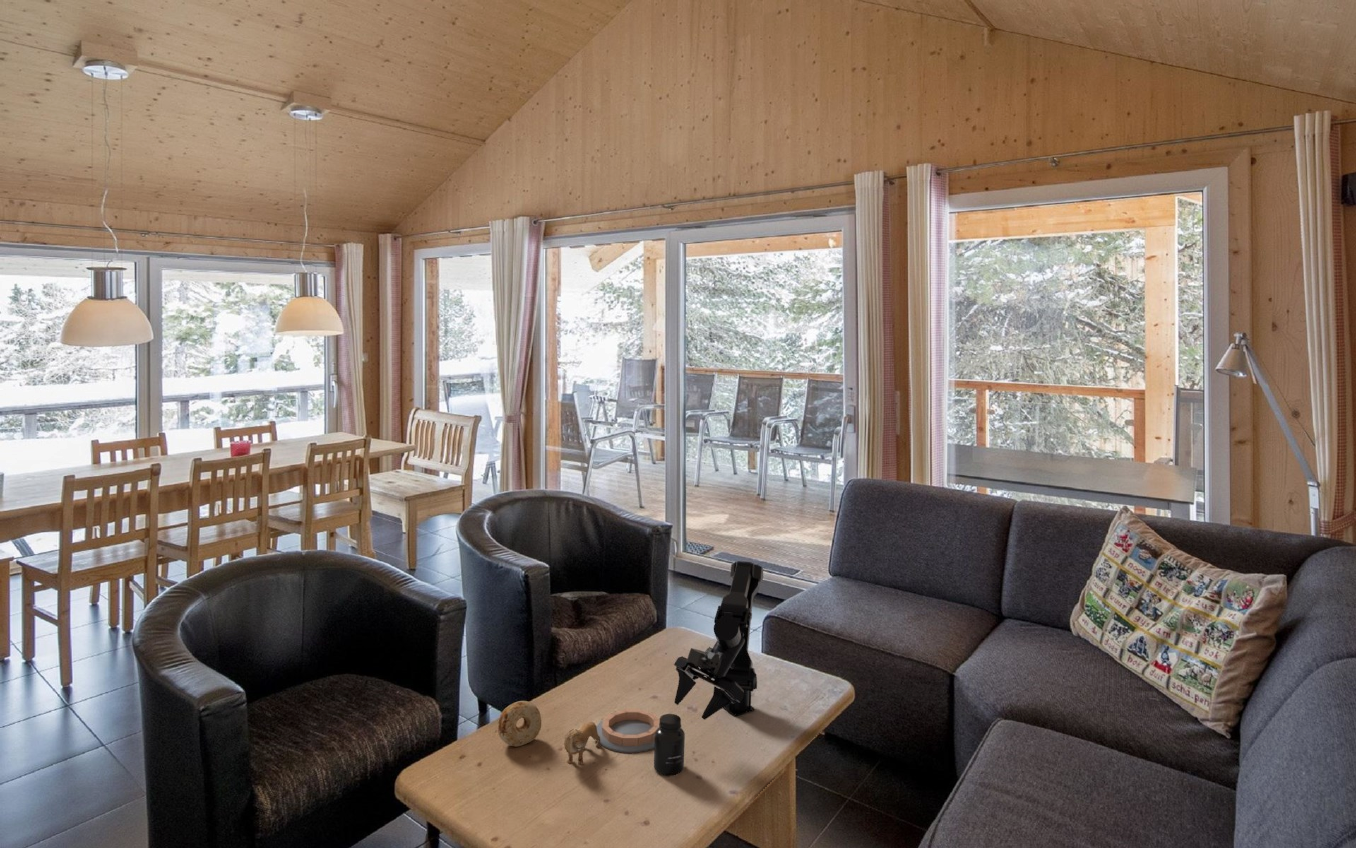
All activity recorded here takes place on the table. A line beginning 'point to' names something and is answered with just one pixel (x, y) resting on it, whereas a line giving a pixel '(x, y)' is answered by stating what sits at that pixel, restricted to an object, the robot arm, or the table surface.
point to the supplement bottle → (669, 746)
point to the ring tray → (628, 731)
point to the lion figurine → (580, 740)
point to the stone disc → (526, 730)
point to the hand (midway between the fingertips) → (689, 711)
